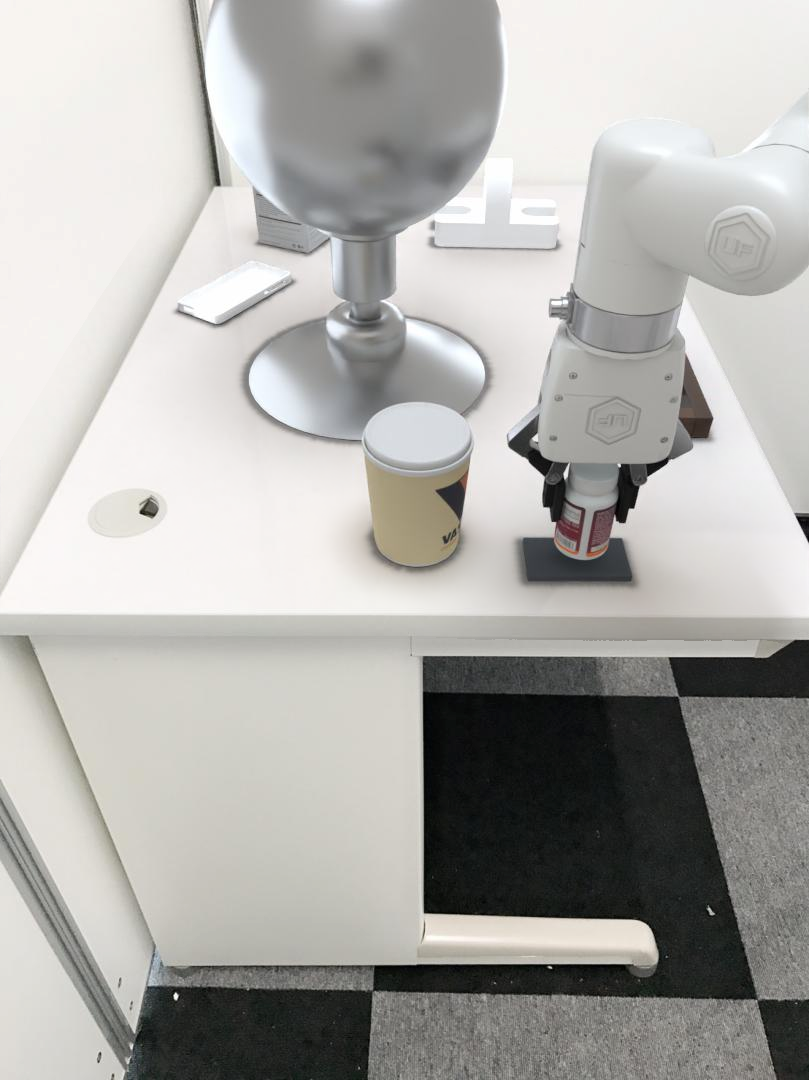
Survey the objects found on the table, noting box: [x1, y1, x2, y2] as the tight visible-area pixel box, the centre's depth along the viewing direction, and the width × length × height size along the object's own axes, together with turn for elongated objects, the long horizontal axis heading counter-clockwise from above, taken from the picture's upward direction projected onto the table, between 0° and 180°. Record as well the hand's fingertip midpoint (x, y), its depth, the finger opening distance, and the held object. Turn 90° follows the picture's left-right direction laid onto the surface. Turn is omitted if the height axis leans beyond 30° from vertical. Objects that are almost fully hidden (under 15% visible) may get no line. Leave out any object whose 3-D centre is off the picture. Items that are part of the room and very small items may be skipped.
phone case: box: [177, 260, 292, 325], centre depth 113 cm, size 7×1×15 cm
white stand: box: [434, 157, 560, 250], centre depth 125 cm, size 10×18×11 cm, turn 87°
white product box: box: [251, 184, 330, 254], centre depth 123 cm, size 9×9×15 cm
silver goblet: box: [204, 0, 509, 441], centre depth 85 cm, size 28×28×45 cm
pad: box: [522, 537, 633, 582], centre depth 76 cm, size 9×5×1 cm, turn 89°
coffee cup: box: [361, 402, 475, 568], centre depth 74 cm, size 9×9×12 cm
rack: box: [678, 351, 714, 438], centre depth 96 cm, size 10×19×2 cm, turn 178°
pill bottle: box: [553, 463, 620, 560], centre depth 72 cm, size 5×5×8 cm
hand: (586, 510), depth 72 cm, fingers closed on pill bottle, 4 cm apart
